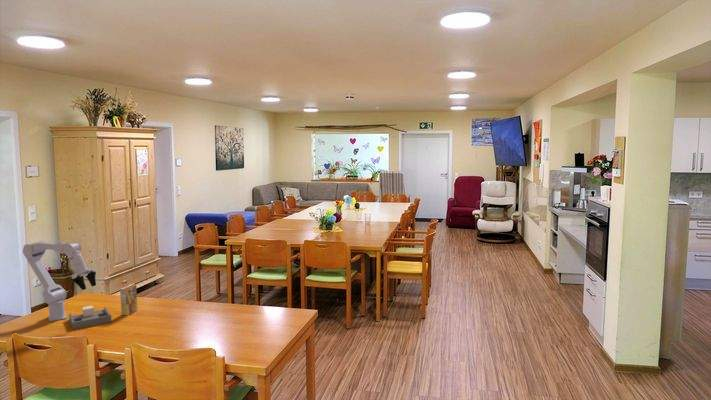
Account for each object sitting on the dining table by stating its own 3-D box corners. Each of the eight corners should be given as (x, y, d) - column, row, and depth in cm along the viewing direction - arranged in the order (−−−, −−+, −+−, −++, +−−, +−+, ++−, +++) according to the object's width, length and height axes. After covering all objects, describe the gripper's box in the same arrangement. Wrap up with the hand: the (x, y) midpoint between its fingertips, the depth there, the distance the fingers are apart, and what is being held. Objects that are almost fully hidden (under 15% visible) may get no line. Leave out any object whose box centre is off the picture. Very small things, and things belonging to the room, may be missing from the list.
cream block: (82, 314, 270) (82, 307, 270) (93, 312, 273) (92, 305, 273) (84, 316, 266) (83, 309, 266) (94, 314, 269) (93, 307, 269)
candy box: (131, 309, 283) (130, 283, 281) (138, 310, 282) (136, 284, 280) (121, 315, 274) (119, 288, 273) (127, 315, 273) (125, 288, 272)
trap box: (69, 319, 268) (68, 313, 267) (105, 312, 278) (105, 306, 278) (73, 329, 254) (72, 322, 254) (111, 321, 264) (111, 315, 264)
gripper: (75, 264, 254) (85, 288, 254) (94, 258, 268) (104, 281, 269) (64, 269, 256) (74, 293, 256) (84, 263, 270) (94, 286, 270)
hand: (89, 287), depth 262 cm, fingers open, 7 cm apart
